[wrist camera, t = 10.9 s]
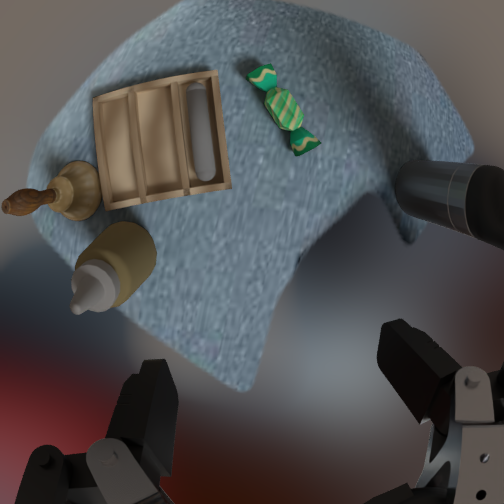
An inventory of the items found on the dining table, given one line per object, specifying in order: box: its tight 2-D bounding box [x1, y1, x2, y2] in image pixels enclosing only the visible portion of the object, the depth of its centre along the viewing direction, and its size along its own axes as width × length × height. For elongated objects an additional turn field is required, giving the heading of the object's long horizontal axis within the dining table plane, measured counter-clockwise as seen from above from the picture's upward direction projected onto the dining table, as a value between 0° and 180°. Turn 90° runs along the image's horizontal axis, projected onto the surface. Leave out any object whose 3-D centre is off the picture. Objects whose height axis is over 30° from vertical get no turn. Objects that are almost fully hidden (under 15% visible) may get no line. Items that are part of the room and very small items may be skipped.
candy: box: [246, 64, 321, 156], centre depth 31 cm, size 12×3×4 cm, turn 32°
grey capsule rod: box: [186, 82, 216, 181], centre depth 30 cm, size 2×12×2 cm, turn 7°
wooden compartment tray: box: [93, 70, 232, 211], centre depth 30 cm, size 16×15×2 cm
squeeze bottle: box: [70, 221, 157, 315], centre depth 26 cm, size 8×8×18 cm
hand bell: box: [2, 161, 102, 221], centre depth 24 cm, size 8×8×16 cm
